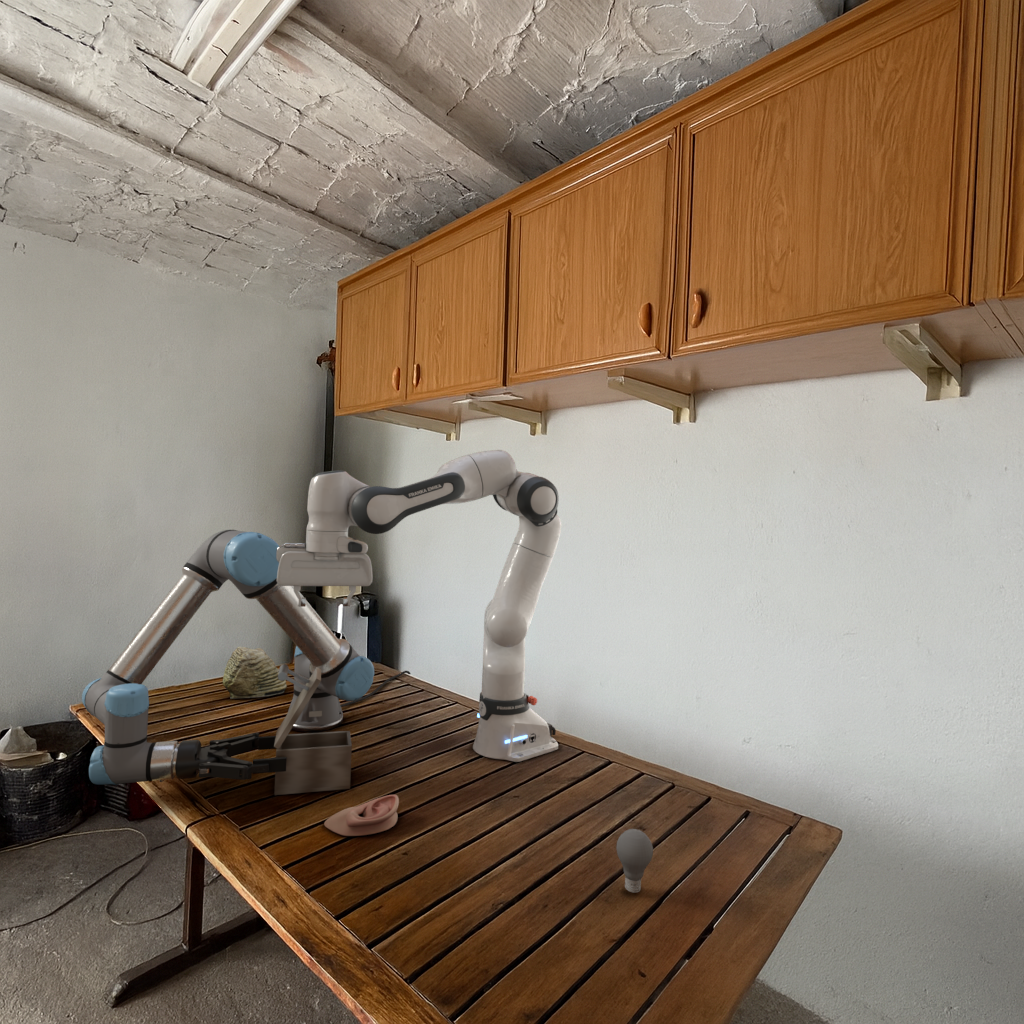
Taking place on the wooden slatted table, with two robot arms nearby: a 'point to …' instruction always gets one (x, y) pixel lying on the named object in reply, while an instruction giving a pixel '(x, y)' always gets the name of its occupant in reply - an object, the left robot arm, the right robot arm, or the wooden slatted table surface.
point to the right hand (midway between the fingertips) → (324, 606)
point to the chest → (314, 762)
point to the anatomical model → (365, 817)
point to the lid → (300, 701)
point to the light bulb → (634, 857)
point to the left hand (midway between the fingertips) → (287, 752)
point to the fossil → (252, 674)
